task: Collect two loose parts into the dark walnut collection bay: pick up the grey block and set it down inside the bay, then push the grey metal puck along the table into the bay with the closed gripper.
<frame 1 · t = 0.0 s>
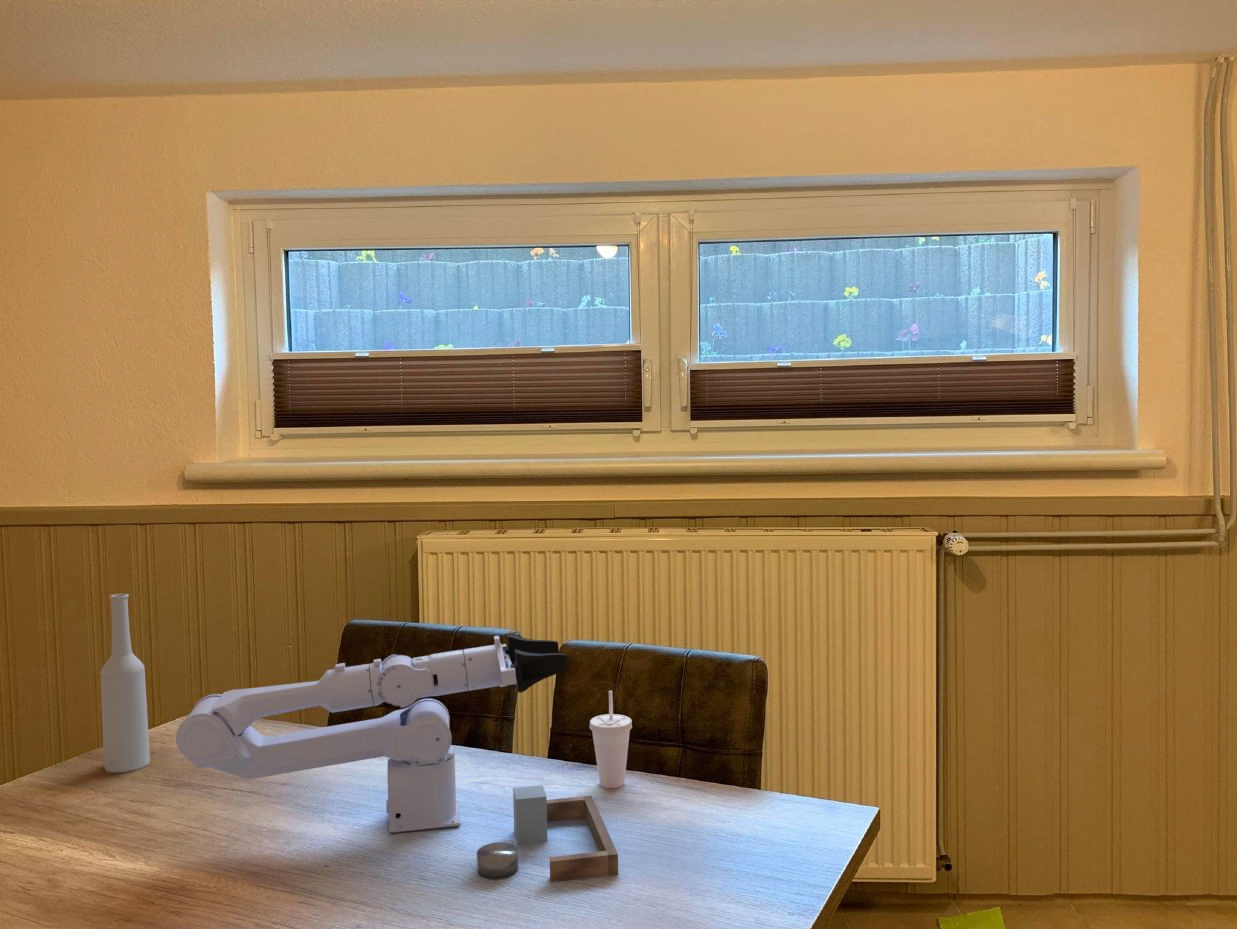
hand: (562, 654, 138), 22 cm above the table, tool horizontal, fingers open, 7 cm apart
smoothie: (612, 784, 147), on the table
grey block: (530, 836, 130), on the table
bottle: (127, 766, 159), on the table
walnut bay: (572, 844, 127), on the table
grey puck: (498, 871, 120), on the table
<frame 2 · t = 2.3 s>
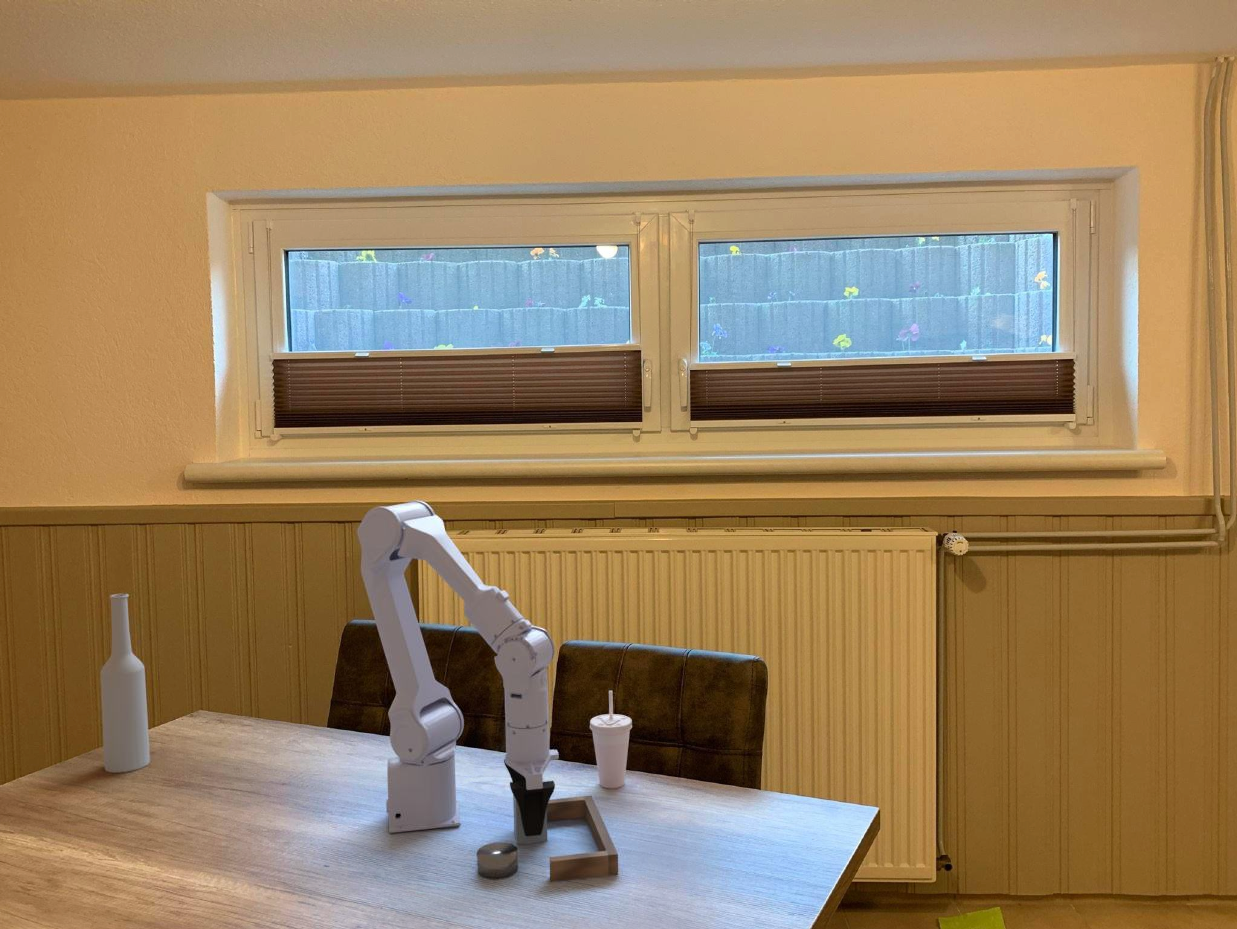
hand: (529, 822, 130), 2 cm above the table, tool pointing down, fingers open, 7 cm apart
nothing on the table moved.
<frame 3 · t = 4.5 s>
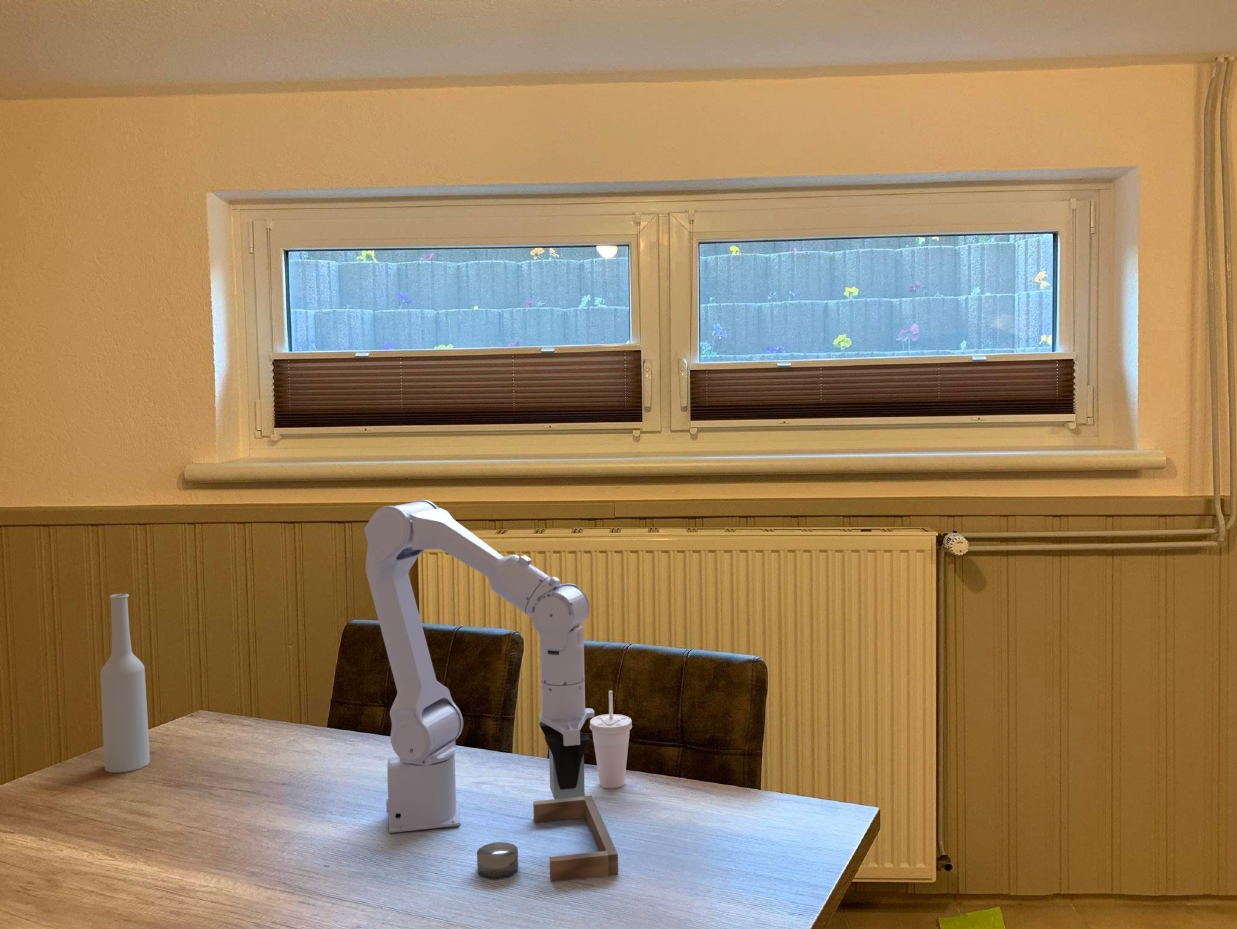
hand: (565, 781, 128), 8 cm above the table, tool pointing down, fingers closed on grey block, 4 cm apart
grey block: (567, 791, 128), point 6 cm above the table, touching gripper
everything else where it was.
when the fingers open (3 cm above the table, at t = 5.7 s): grey block drops 2 cm, on the table.
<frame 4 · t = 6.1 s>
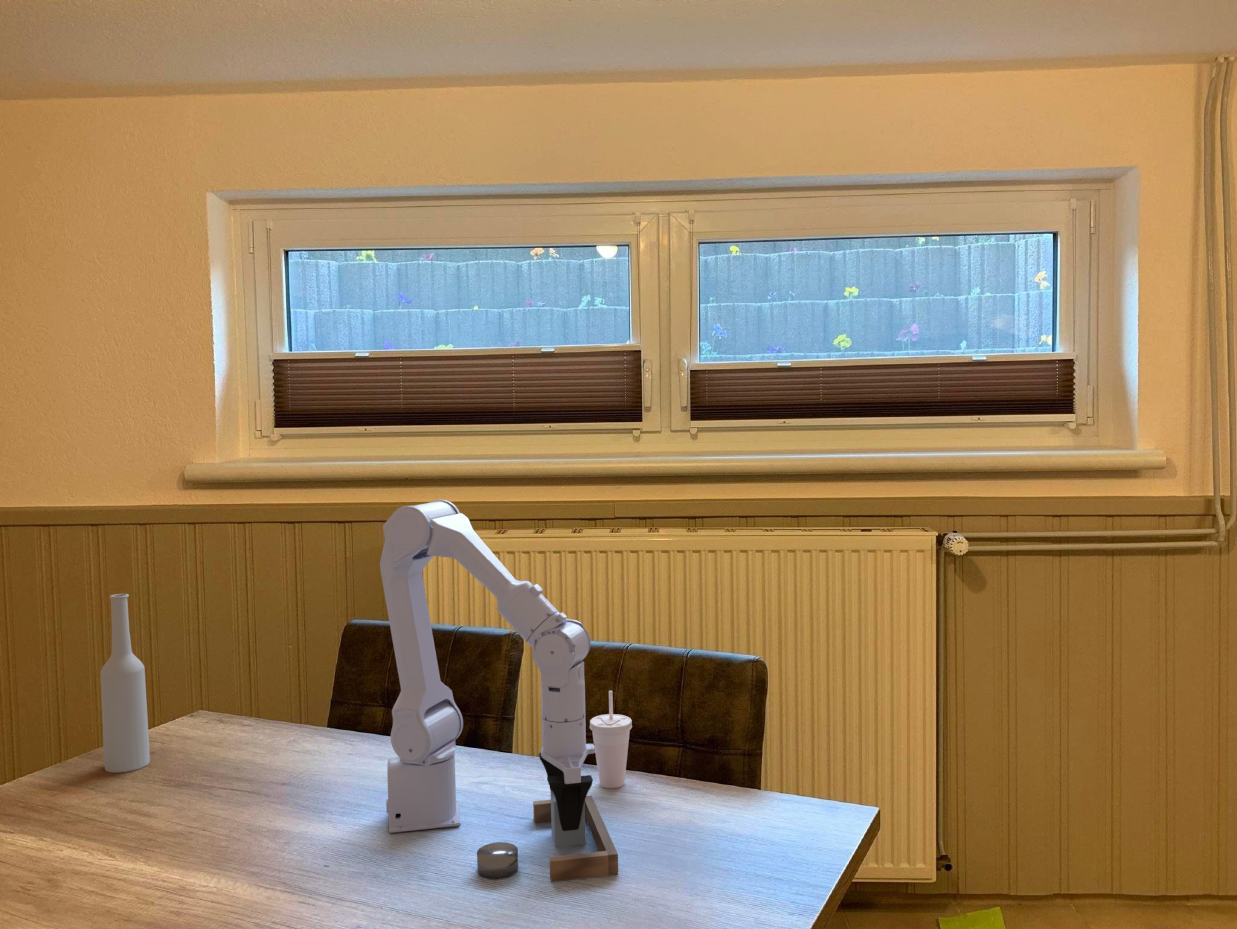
hand: (565, 817, 129), 3 cm above the table, tool pointing down, fingers open, 7 cm apart
grey block: (568, 838, 129), on the table
everything else where it was.
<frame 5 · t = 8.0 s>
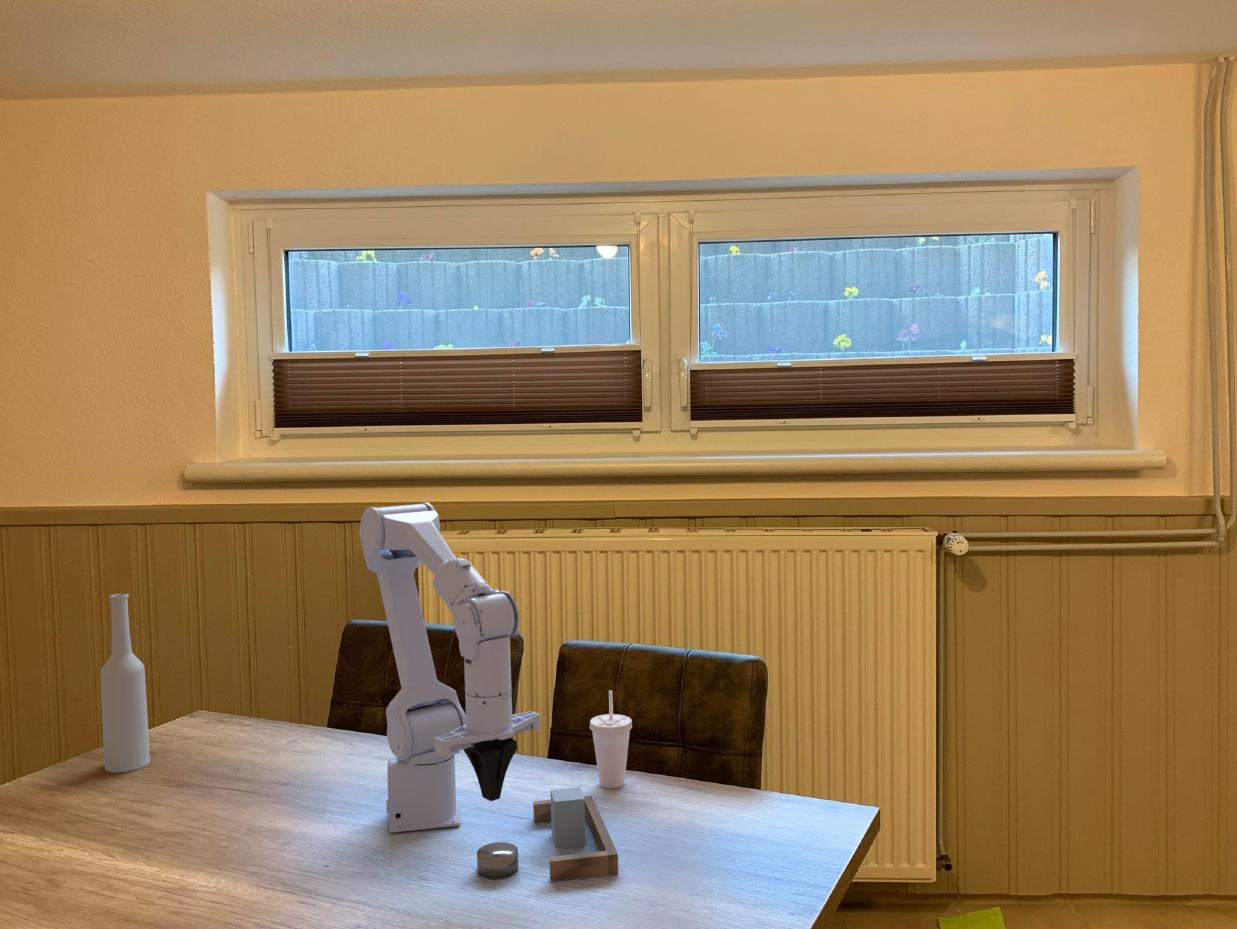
hand: (491, 797, 122), 8 cm above the table, tool pointing down, fingers closed
nothing on the table moved.
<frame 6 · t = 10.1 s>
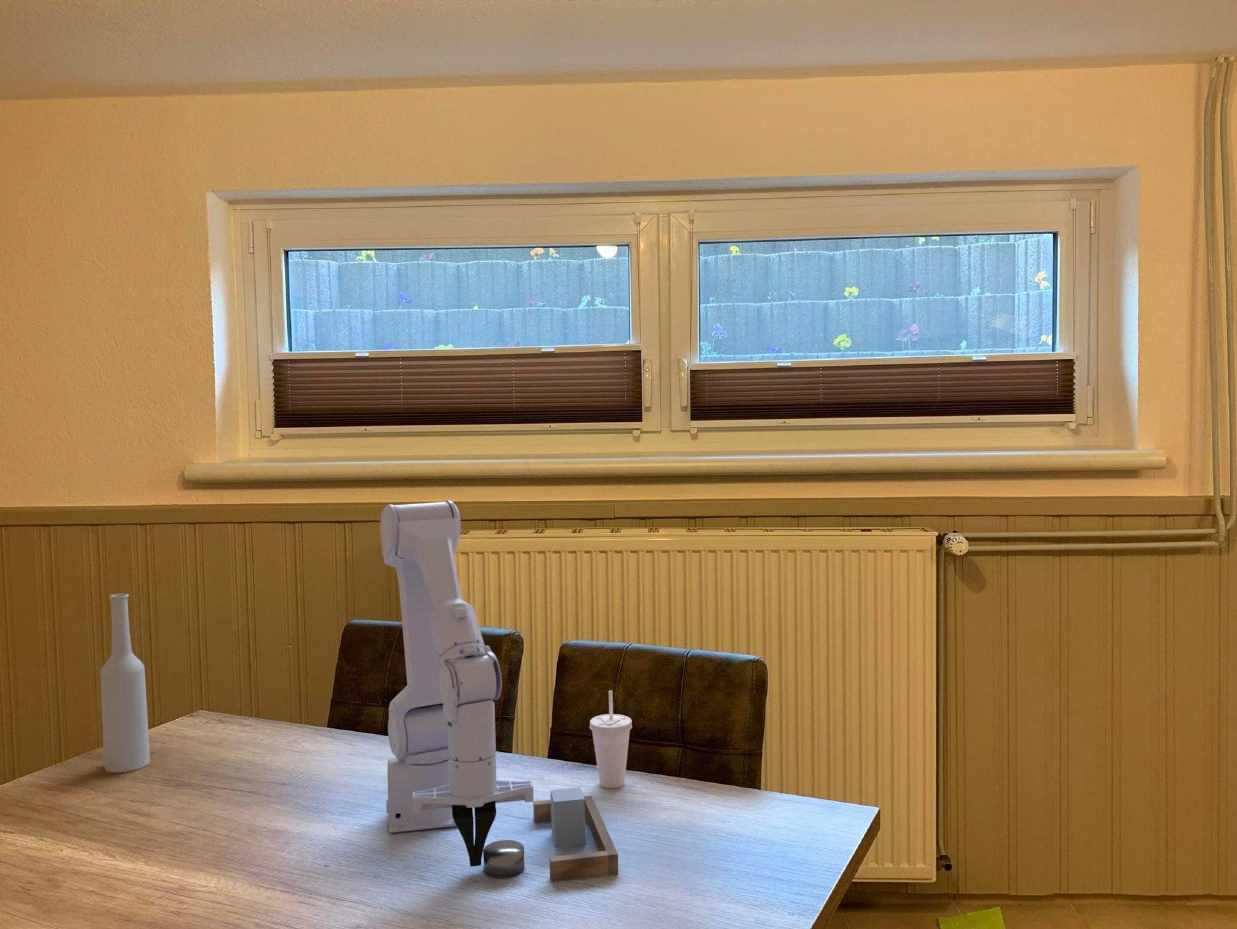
hand: (475, 862, 120), 1 cm above the table, tool pointing down, fingers closed
grey puck: (504, 868, 121), on the table, touching gripper
everything else where it was.
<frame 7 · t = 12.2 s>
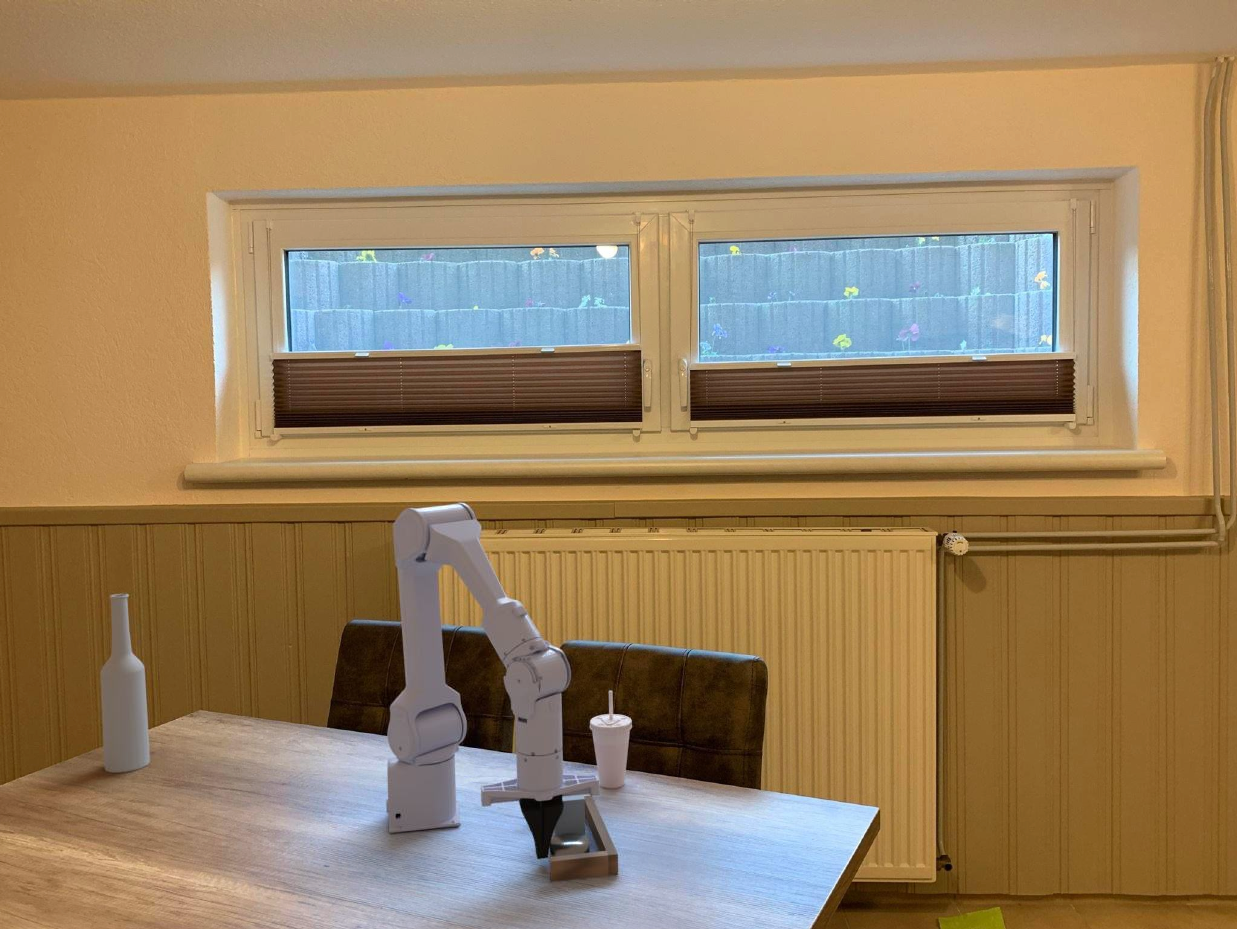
hand: (541, 855, 122), 1 cm above the table, tool pointing down, fingers closed
grey puck: (570, 861, 122), on the table, touching gripper
everything else where it was.
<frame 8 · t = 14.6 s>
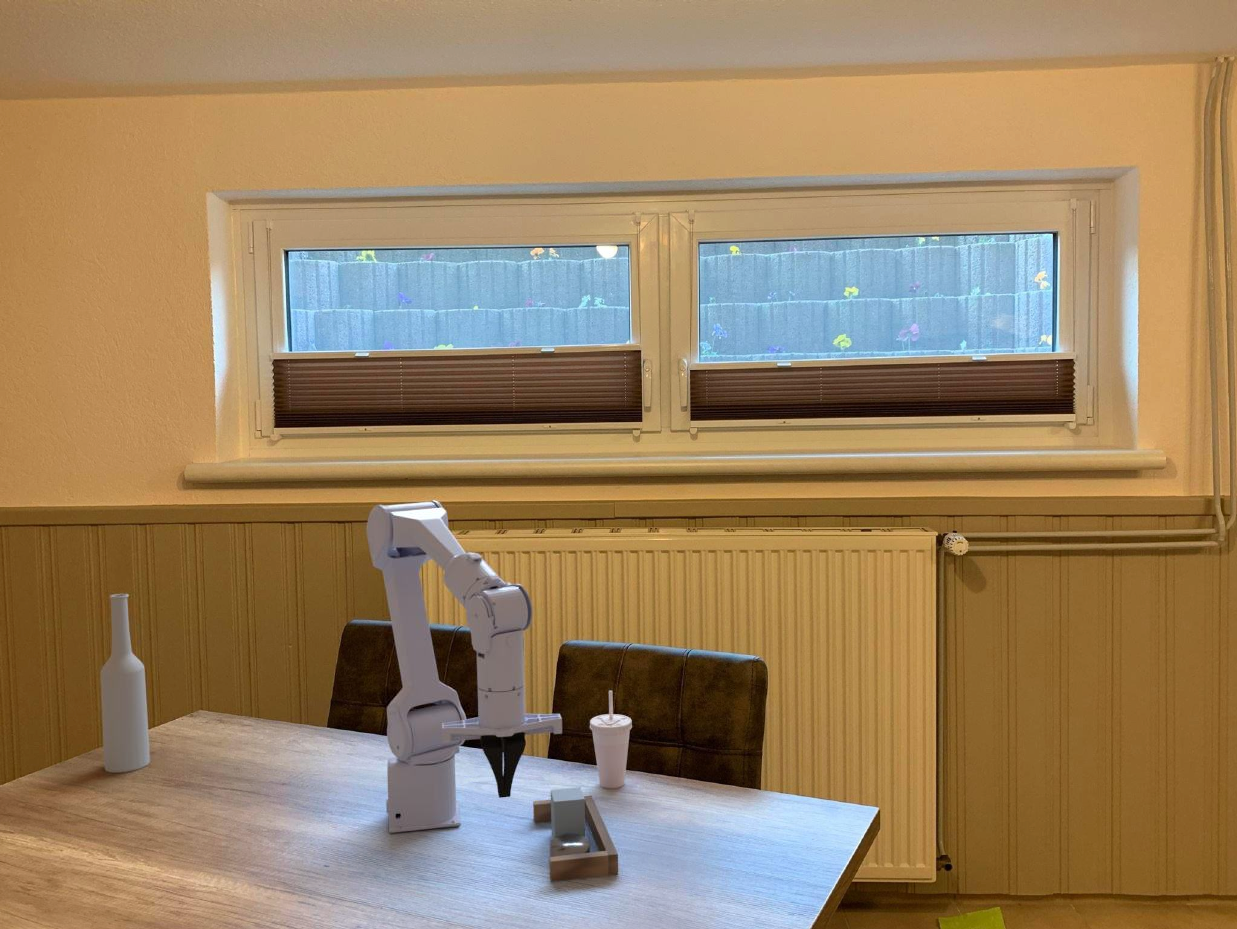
hand: (504, 794, 120), 9 cm above the table, tool pointing down, fingers closed
grey puck: (570, 862, 122), on the table
everything else where it was.
at the end: grey block inside the target area (2.0 cm from its centre), on the table; grey block tilted 0°; grey puck inside the target area (4.4 cm from its centre), on the table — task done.
